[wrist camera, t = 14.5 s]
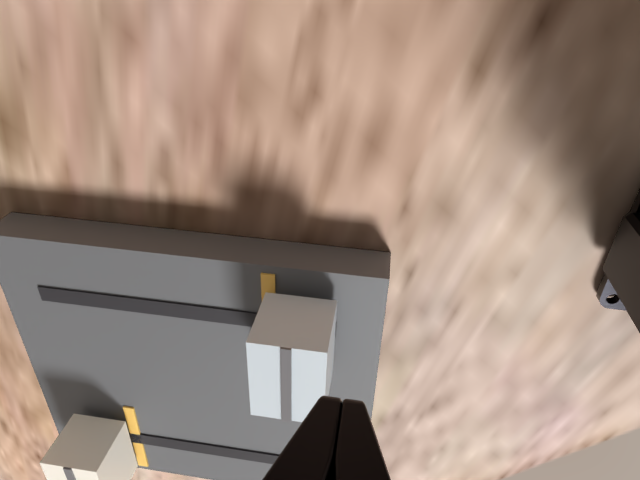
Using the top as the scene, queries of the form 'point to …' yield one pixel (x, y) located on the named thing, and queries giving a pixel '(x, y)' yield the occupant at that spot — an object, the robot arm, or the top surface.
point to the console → (178, 331)
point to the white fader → (290, 355)
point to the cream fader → (91, 451)
